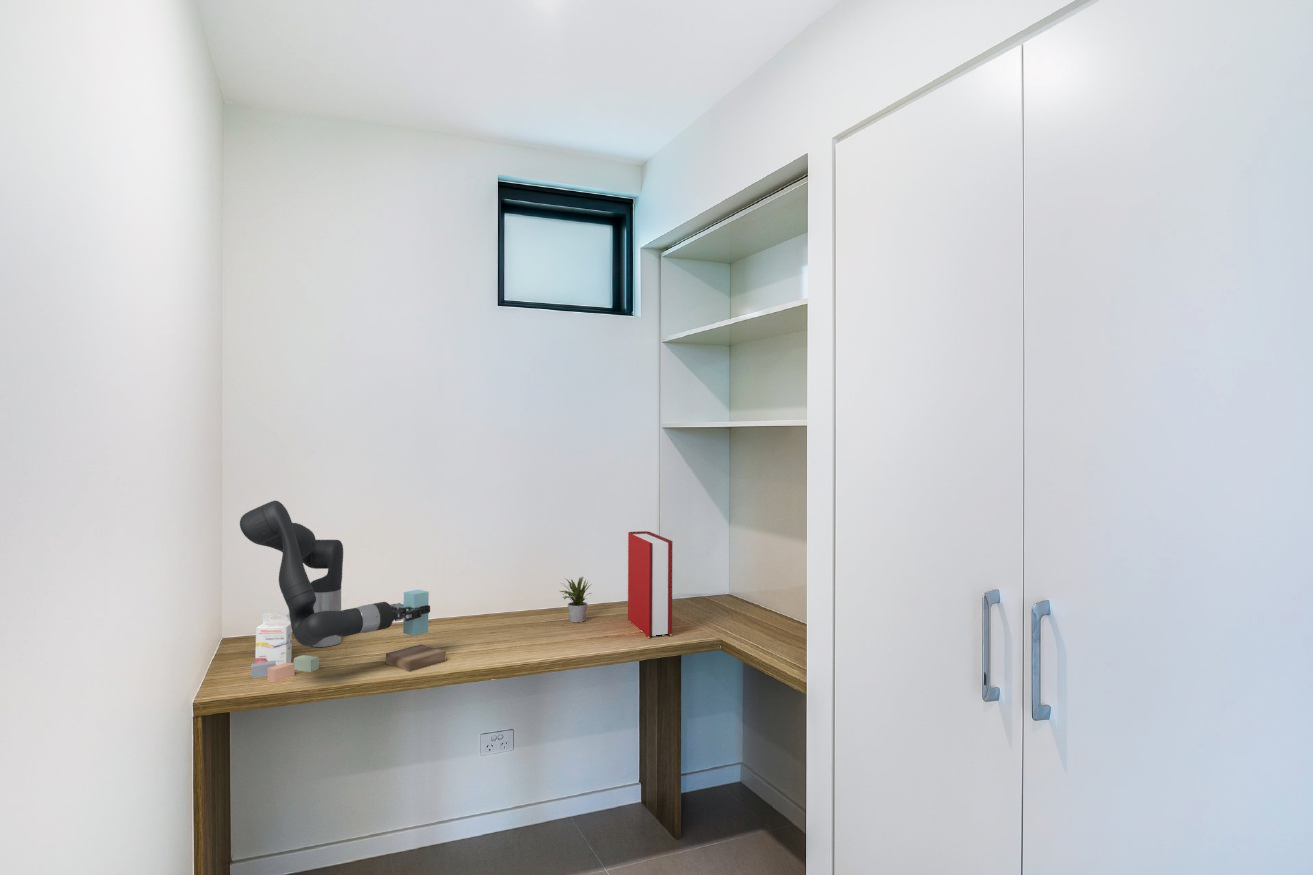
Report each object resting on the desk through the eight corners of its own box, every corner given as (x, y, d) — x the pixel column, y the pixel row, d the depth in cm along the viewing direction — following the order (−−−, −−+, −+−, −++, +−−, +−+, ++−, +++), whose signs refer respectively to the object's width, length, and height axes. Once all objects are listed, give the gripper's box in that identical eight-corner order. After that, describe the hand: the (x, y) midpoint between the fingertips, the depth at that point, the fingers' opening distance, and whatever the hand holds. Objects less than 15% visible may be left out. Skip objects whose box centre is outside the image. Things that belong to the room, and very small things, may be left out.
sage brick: (293, 670, 210) (293, 658, 210) (301, 667, 212) (301, 655, 212) (310, 672, 208) (310, 660, 208) (318, 669, 211) (318, 657, 211)
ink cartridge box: (254, 668, 210) (254, 617, 210) (260, 663, 215) (261, 613, 215) (286, 667, 212) (286, 616, 212) (292, 662, 217) (292, 612, 217)
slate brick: (251, 679, 202) (251, 666, 202) (251, 676, 204) (251, 663, 204) (275, 675, 205) (275, 663, 205) (275, 672, 207) (275, 660, 207)
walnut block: (385, 663, 216) (386, 653, 216) (421, 654, 225) (421, 644, 225) (410, 671, 208) (410, 660, 208) (445, 661, 218) (445, 651, 218)
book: (672, 636, 246) (672, 541, 246) (649, 638, 244) (649, 541, 244) (647, 617, 272) (648, 531, 272) (626, 619, 270) (627, 531, 270)
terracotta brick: (274, 682, 199) (274, 669, 199) (267, 680, 200) (267, 667, 200) (294, 676, 204) (294, 663, 204) (287, 674, 206) (287, 662, 206)
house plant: (560, 615, 275) (561, 571, 275) (597, 615, 275) (597, 571, 275) (554, 624, 261) (554, 578, 261) (592, 625, 261) (593, 579, 261)
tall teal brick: (403, 633, 216) (403, 592, 216) (418, 629, 220) (418, 589, 220) (413, 635, 213) (413, 594, 213) (428, 632, 217) (428, 591, 217)
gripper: (386, 607, 201) (438, 597, 214) (357, 600, 210) (409, 591, 223) (385, 635, 201) (438, 623, 214) (357, 627, 210) (409, 616, 223)
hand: (423, 607), depth 219 cm, fingers closed on tall teal brick, 5 cm apart
